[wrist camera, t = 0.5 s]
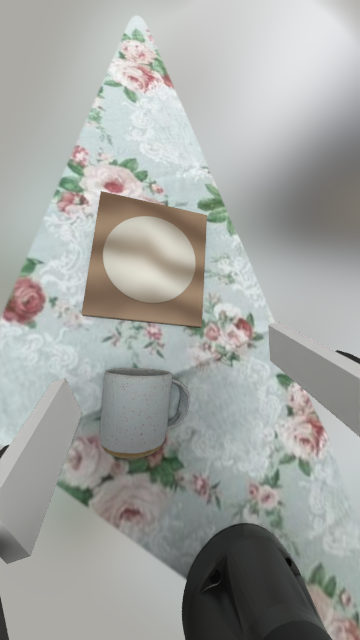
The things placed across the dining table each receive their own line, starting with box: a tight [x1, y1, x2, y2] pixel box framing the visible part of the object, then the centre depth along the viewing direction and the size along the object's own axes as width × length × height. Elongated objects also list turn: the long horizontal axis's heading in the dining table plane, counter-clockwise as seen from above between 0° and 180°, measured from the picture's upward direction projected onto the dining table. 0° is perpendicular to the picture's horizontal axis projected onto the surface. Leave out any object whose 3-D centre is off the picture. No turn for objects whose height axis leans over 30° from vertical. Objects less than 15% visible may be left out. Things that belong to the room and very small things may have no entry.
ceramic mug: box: [100, 368, 189, 458], centre depth 24 cm, size 11×8×8 cm
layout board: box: [82, 191, 207, 328], centre depth 30 cm, size 18×16×1 cm
